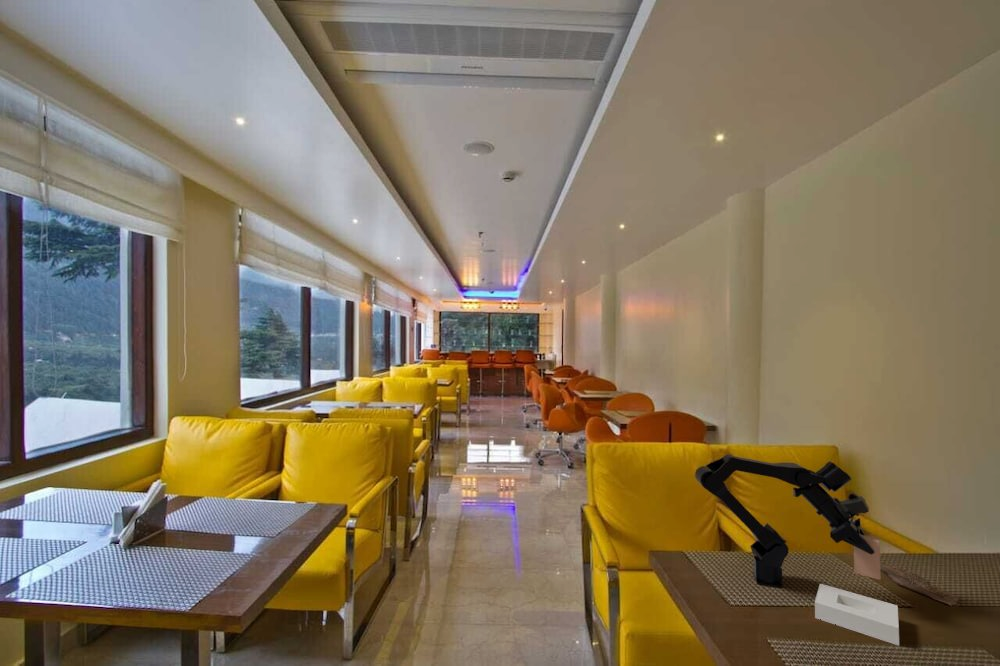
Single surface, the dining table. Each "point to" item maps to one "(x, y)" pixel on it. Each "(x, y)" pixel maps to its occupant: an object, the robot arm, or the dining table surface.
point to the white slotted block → (858, 613)
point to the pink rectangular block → (868, 559)
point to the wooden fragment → (917, 584)
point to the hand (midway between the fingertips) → (873, 551)
